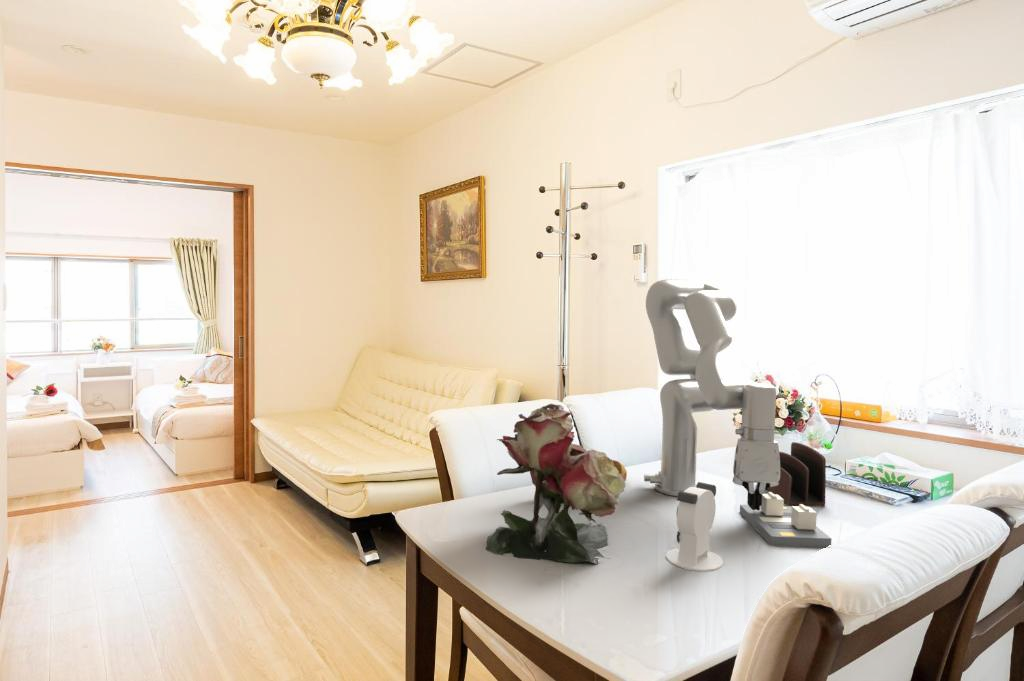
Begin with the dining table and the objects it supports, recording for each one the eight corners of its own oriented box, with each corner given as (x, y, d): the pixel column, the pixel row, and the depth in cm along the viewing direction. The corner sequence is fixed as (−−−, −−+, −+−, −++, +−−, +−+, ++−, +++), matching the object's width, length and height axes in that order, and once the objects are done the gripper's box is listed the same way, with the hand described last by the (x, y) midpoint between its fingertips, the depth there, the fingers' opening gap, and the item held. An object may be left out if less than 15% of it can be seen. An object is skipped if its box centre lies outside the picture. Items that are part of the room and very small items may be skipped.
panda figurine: (681, 544, 141) (684, 477, 140) (732, 558, 133) (735, 487, 132) (656, 560, 131) (659, 488, 130) (709, 576, 124) (713, 500, 123)
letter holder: (792, 485, 189) (794, 438, 189) (825, 507, 170) (828, 454, 169) (758, 484, 189) (760, 437, 188) (788, 506, 170) (791, 454, 169)
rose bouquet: (621, 569, 126) (627, 420, 125) (478, 555, 132) (481, 411, 130) (624, 525, 152) (629, 400, 150) (504, 514, 157) (507, 394, 155)
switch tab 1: (766, 515, 154) (767, 496, 154) (760, 509, 158) (761, 491, 158) (782, 515, 154) (783, 497, 154) (776, 510, 158) (777, 492, 158)
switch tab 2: (797, 529, 145) (798, 509, 145) (790, 522, 149) (791, 503, 149) (815, 529, 145) (816, 509, 145) (808, 523, 149) (809, 504, 149)
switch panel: (771, 545, 141) (771, 535, 141) (739, 512, 163) (740, 504, 163) (830, 547, 141) (831, 538, 140) (791, 514, 163) (791, 506, 162)
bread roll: (577, 481, 188) (578, 454, 188) (595, 474, 196) (596, 449, 195) (615, 490, 180) (616, 462, 179) (632, 483, 187) (633, 456, 187)
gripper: (730, 436, 152) (727, 512, 153) (795, 438, 151) (791, 514, 152) (722, 430, 159) (719, 502, 160) (783, 432, 158) (779, 504, 160)
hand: (754, 508), depth 156 cm, fingers closed
